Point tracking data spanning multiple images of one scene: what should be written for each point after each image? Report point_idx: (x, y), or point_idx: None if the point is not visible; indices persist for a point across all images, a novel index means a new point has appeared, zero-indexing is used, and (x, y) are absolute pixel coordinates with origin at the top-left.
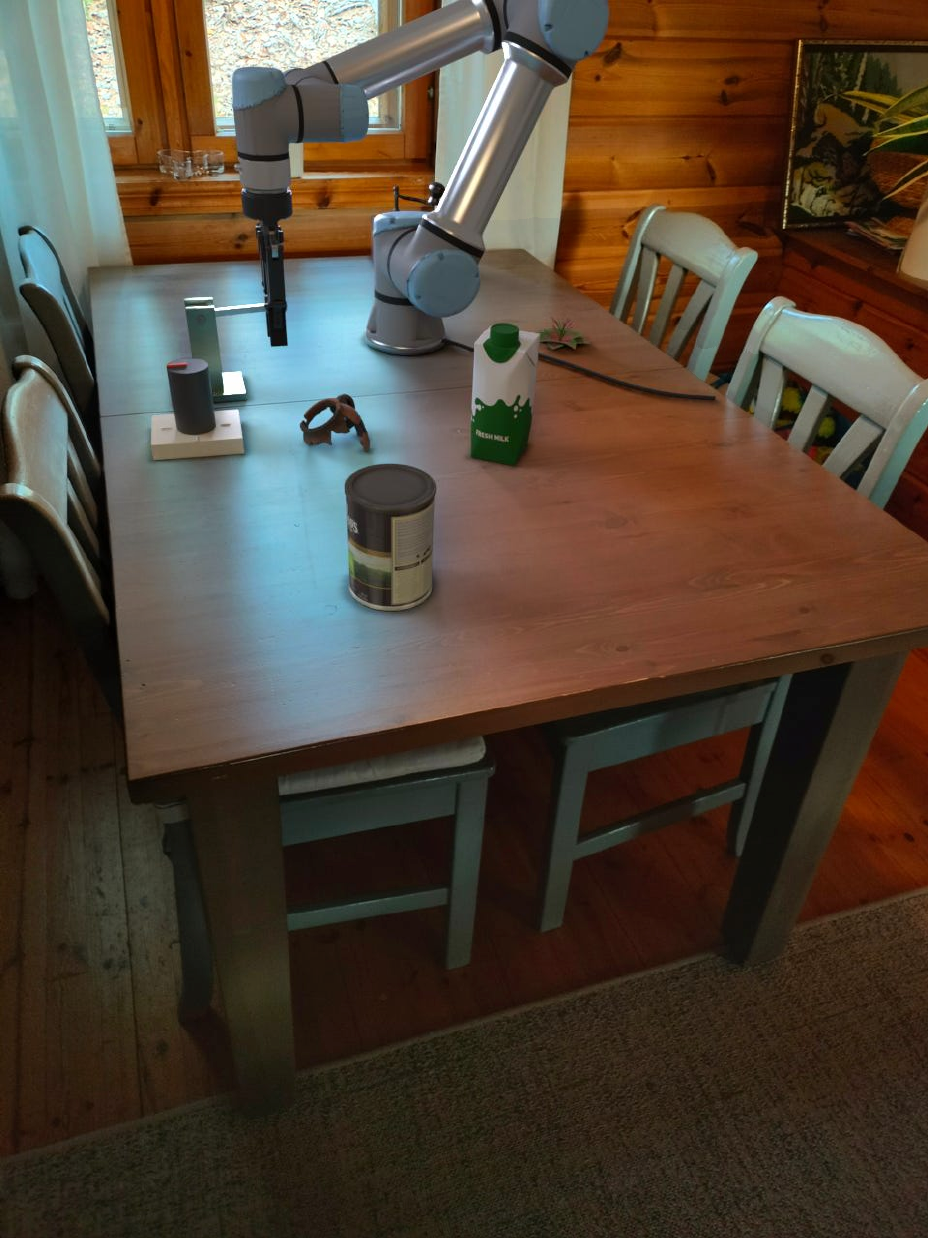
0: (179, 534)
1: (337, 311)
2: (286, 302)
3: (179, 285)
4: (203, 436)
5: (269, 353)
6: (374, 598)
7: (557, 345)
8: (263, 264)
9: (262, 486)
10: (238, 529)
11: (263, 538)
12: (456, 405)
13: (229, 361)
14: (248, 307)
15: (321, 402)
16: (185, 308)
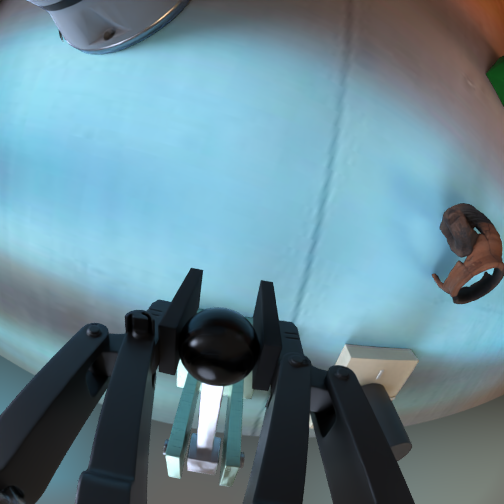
0: (462, 390)
1: (3, 95)
2: (348, 374)
3: None
4: (389, 393)
5: (93, 230)
6: None
7: None
8: (146, 470)
9: (463, 339)
10: (484, 358)
11: (499, 344)
12: (408, 30)
13: (114, 299)
14: (219, 410)
15: (471, 277)
16: (227, 485)
